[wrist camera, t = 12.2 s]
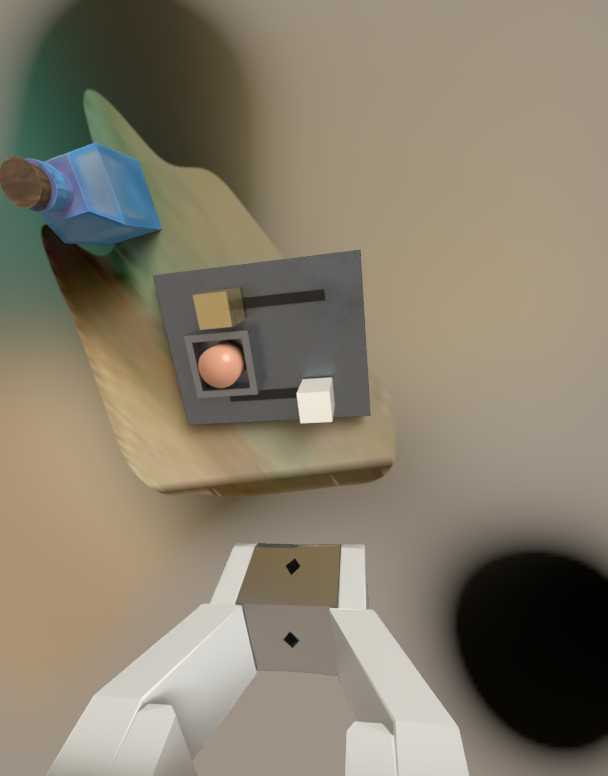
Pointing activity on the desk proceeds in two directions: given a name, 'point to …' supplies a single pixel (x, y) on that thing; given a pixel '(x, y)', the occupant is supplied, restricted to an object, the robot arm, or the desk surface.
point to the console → (272, 336)
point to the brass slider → (219, 308)
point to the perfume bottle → (84, 194)
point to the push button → (222, 364)
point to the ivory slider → (316, 400)
